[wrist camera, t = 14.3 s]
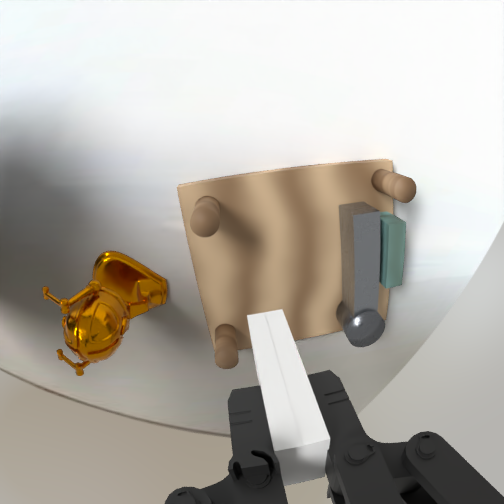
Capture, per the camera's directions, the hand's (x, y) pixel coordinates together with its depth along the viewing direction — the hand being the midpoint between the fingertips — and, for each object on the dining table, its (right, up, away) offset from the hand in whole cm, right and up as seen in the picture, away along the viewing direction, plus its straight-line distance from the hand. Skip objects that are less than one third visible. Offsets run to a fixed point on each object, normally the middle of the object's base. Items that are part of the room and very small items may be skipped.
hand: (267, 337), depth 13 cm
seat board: (+4, +3, +21) cm, 21 cm away
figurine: (-16, 0, +20) cm, 26 cm away
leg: (+10, +2, +20) cm, 23 cm away
